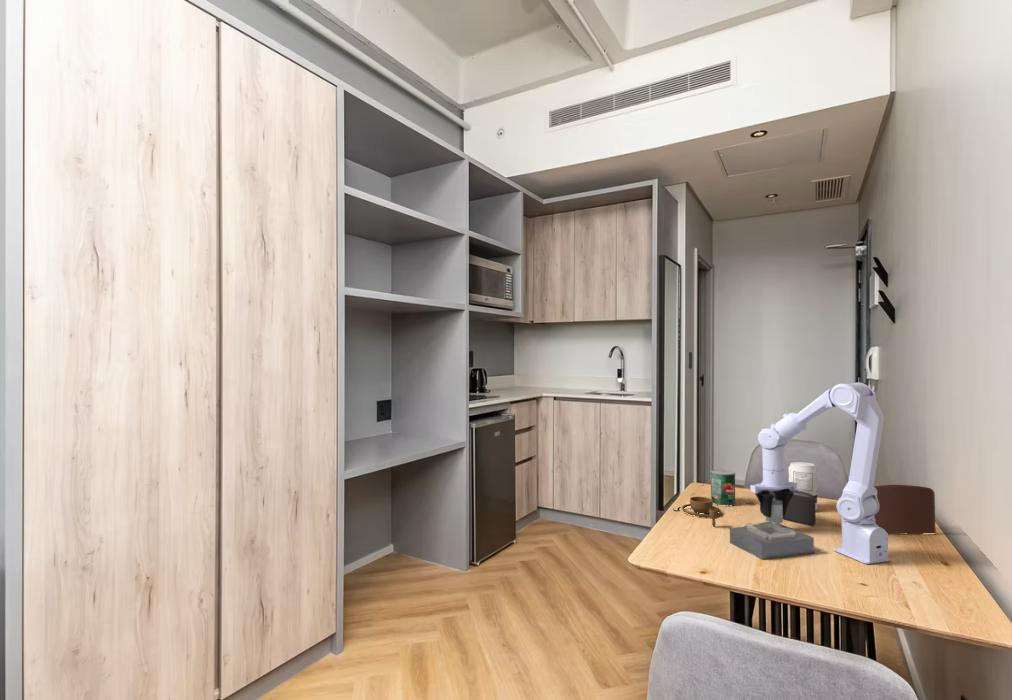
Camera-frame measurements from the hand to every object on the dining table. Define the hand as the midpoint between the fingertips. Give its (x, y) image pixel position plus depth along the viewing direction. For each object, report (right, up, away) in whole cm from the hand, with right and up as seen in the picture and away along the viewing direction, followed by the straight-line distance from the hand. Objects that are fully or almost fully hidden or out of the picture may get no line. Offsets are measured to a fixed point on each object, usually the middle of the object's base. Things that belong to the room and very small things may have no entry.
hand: (774, 515), depth 150 cm
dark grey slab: (+9, -5, +10) cm, 14 cm away
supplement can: (+20, -5, +21) cm, 30 cm away
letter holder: (+34, -5, +1) cm, 35 cm away
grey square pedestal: (-8, -4, -11) cm, 15 cm away
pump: (0, -2, 0) cm, 2 cm away
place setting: (-17, -5, +14) cm, 23 cm away
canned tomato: (-3, -5, +28) cm, 29 cm away
